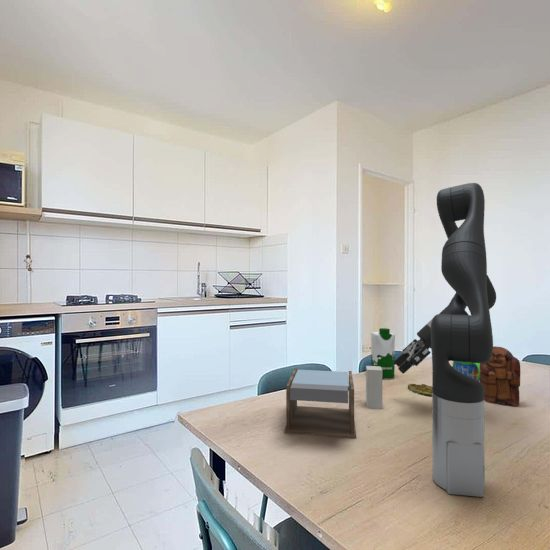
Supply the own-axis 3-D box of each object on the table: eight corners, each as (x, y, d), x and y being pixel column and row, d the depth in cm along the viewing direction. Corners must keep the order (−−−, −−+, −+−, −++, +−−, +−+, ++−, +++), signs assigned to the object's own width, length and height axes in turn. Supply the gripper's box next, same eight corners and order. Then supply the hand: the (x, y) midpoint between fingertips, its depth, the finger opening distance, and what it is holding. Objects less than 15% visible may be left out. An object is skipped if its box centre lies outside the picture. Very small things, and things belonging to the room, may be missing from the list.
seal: (401, 393, 132) (442, 403, 120) (400, 380, 131) (441, 390, 120) (413, 385, 138) (454, 394, 126) (413, 373, 137) (453, 381, 126)
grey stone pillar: (382, 408, 112) (382, 370, 112) (367, 408, 113) (367, 369, 113) (380, 403, 117) (380, 366, 117) (366, 402, 118) (365, 365, 118)
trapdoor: (350, 403, 86) (350, 390, 86) (288, 399, 89) (288, 387, 89) (347, 378, 108) (347, 368, 108) (297, 376, 111) (297, 366, 111)
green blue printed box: (444, 378, 147) (444, 353, 147) (469, 378, 147) (469, 353, 147) (465, 390, 131) (465, 362, 131) (493, 390, 131) (493, 362, 131)
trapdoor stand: (356, 438, 91) (356, 389, 91) (284, 433, 94) (284, 385, 94) (353, 412, 109) (353, 371, 109) (292, 408, 112) (292, 368, 113)
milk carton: (375, 379, 144) (375, 329, 145) (369, 373, 154) (369, 326, 154) (397, 379, 145) (397, 329, 145) (389, 373, 154) (389, 326, 154)
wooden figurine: (477, 400, 120) (476, 346, 120) (480, 395, 125) (480, 343, 125) (520, 408, 113) (519, 350, 113) (521, 403, 118) (521, 347, 118)
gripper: (422, 321, 119) (386, 354, 121) (433, 326, 105) (392, 364, 107) (439, 337, 118) (402, 370, 120) (452, 345, 104) (411, 383, 106)
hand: (398, 367), depth 114 cm, fingers open, 8 cm apart
